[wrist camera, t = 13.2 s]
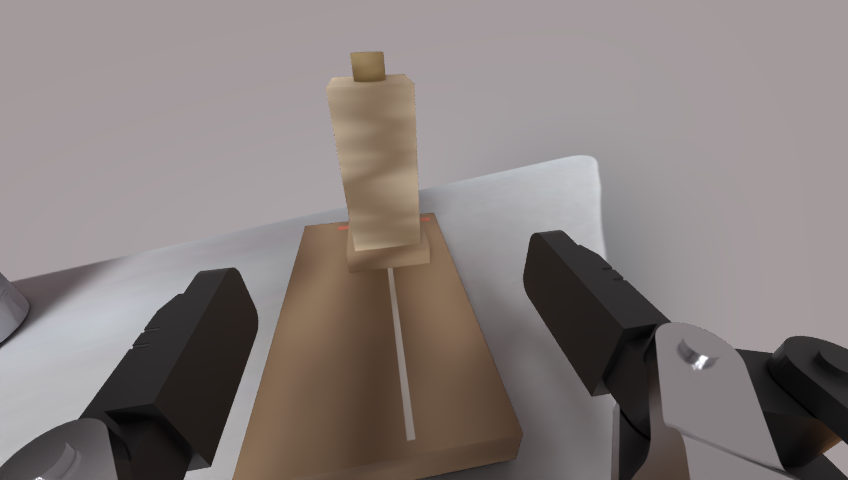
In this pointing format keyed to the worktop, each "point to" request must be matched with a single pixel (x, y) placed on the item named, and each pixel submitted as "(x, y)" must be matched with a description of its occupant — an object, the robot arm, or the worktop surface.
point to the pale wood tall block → (378, 165)
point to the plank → (376, 373)
